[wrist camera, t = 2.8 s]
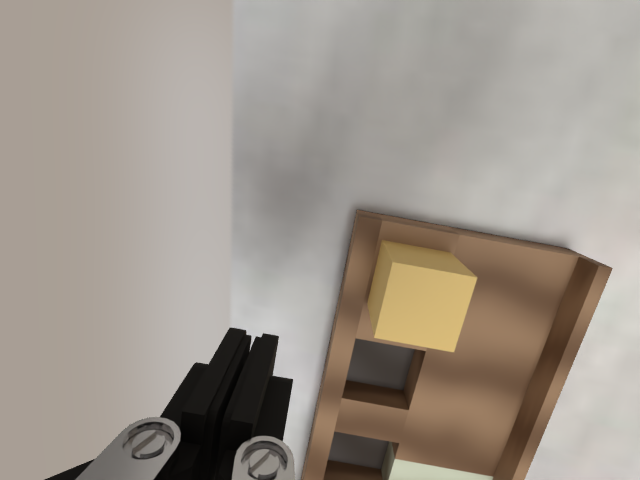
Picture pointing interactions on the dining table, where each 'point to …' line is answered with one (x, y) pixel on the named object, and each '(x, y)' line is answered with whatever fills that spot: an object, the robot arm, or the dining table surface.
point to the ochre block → (419, 296)
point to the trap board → (451, 362)
